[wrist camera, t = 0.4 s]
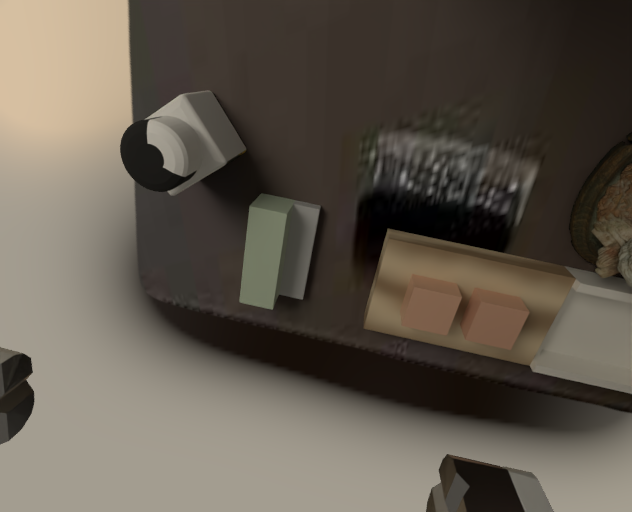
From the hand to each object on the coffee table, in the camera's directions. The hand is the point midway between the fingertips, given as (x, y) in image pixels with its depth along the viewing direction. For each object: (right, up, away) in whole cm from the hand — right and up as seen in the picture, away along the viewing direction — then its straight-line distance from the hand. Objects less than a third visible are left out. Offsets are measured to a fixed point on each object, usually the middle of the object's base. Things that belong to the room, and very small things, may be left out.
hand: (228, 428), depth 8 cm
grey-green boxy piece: (-2, +5, +41) cm, 41 cm away
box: (+35, -5, +39) cm, 53 cm away
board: (+19, -1, +40) cm, 44 cm away
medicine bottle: (-11, +17, +37) cm, 41 cm away
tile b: (+21, -3, +37) cm, 43 cm away
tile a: (+14, -1, +38) cm, 40 cm away
